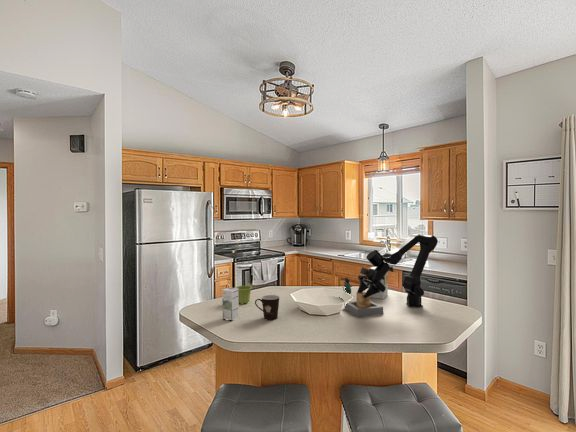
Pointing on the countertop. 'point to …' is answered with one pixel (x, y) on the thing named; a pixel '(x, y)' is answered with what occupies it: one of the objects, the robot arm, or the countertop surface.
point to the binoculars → (347, 286)
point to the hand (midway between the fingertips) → (360, 295)
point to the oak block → (362, 300)
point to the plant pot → (244, 294)
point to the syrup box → (230, 303)
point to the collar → (364, 309)
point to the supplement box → (385, 283)
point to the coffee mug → (269, 306)
